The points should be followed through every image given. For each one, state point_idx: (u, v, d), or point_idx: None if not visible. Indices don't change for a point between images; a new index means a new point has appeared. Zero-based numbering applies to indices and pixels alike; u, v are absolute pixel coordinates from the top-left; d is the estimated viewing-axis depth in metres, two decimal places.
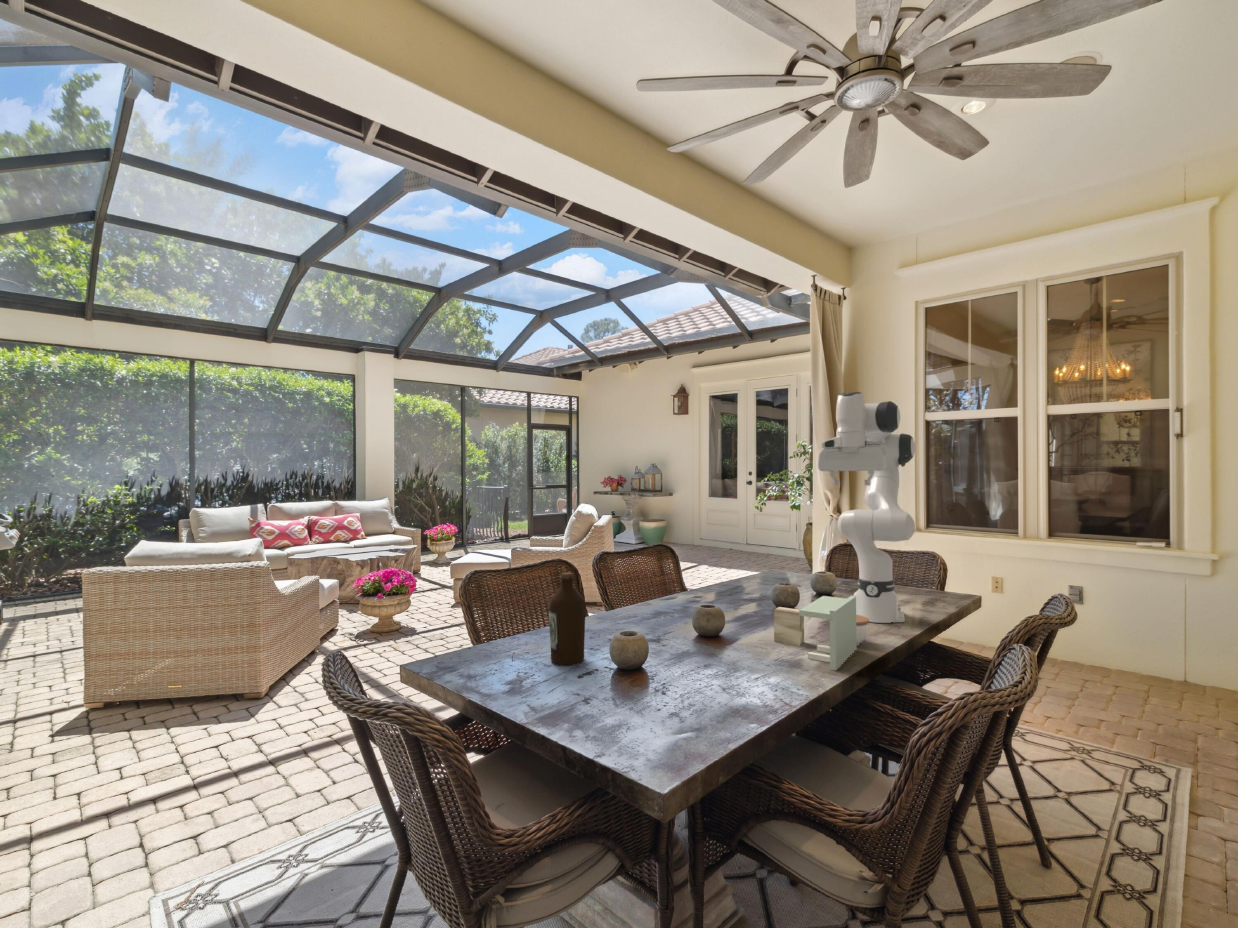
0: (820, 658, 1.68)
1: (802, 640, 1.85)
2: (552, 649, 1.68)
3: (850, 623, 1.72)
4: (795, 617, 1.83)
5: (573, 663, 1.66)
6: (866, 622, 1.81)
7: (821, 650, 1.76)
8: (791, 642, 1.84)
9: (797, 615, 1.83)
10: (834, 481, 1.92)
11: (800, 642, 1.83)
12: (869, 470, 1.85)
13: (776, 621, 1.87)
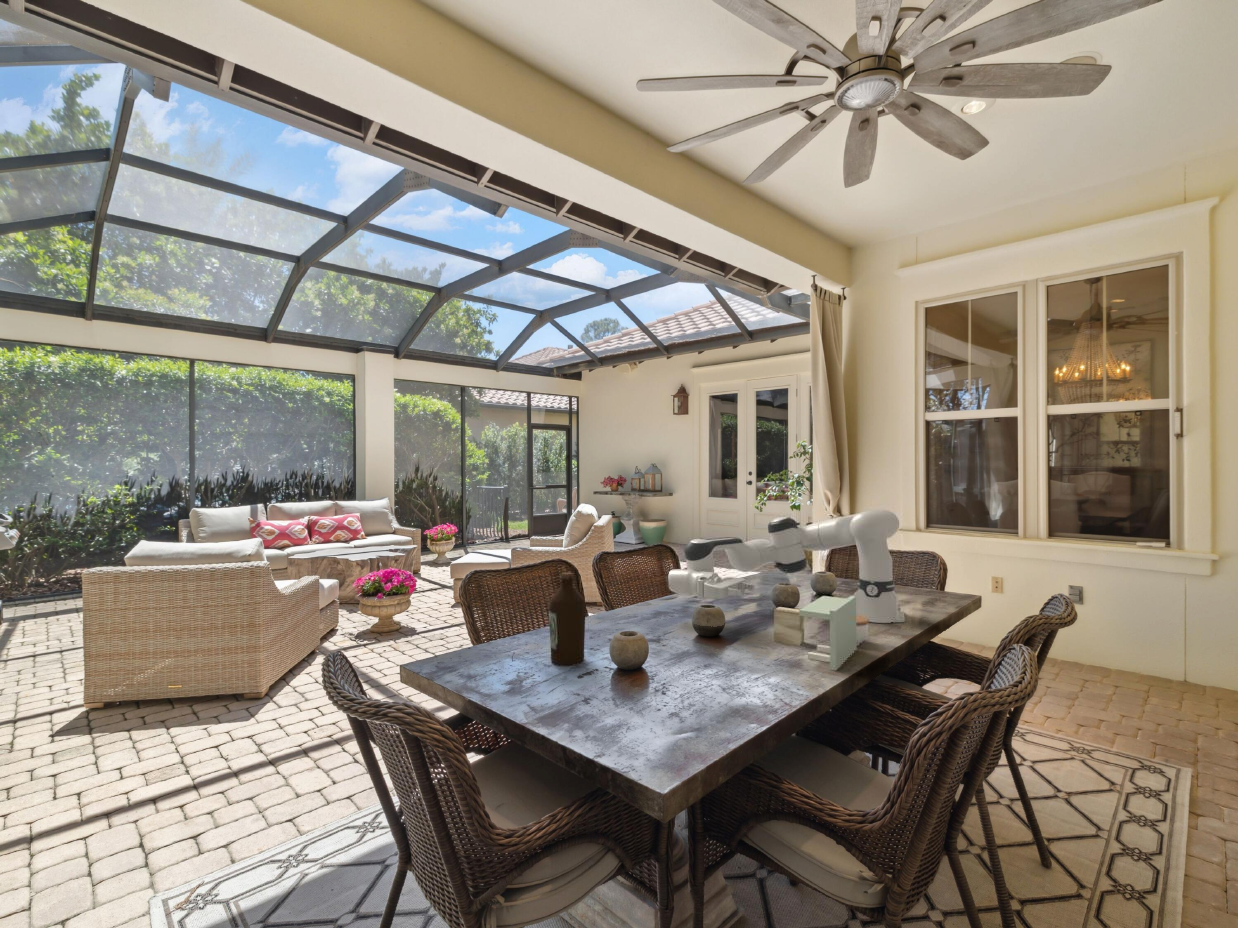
0: (820, 658, 1.68)
1: (802, 640, 1.85)
2: (552, 649, 1.68)
3: (850, 623, 1.72)
4: (795, 617, 1.83)
5: (573, 663, 1.66)
6: (866, 622, 1.81)
7: (821, 650, 1.76)
8: (791, 642, 1.84)
9: (797, 615, 1.83)
10: (737, 589, 1.92)
11: (800, 642, 1.83)
12: (741, 581, 2.02)
13: (776, 621, 1.87)
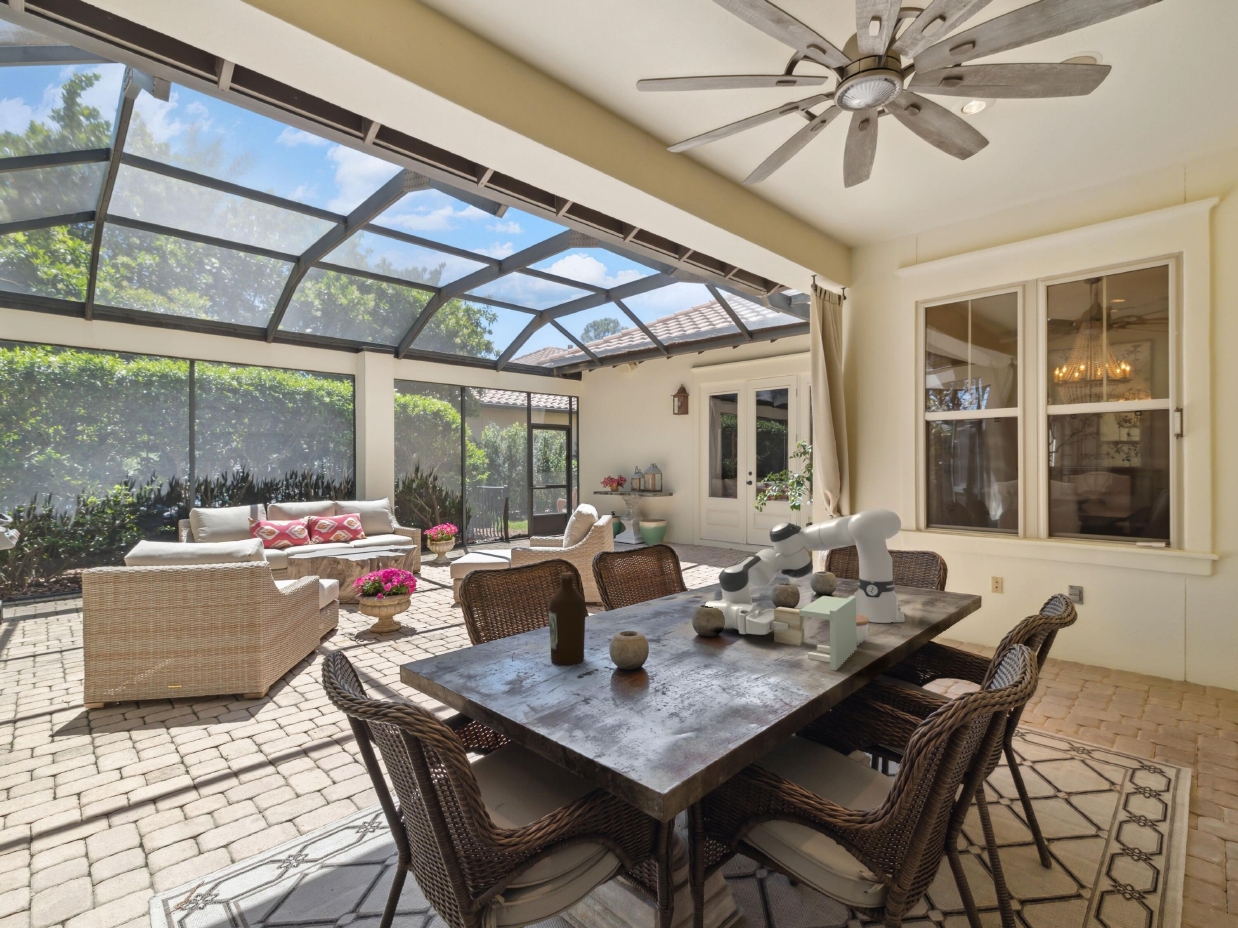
0: (820, 658, 1.68)
1: (802, 640, 1.85)
2: (552, 649, 1.68)
3: (850, 623, 1.72)
4: (795, 616, 1.83)
5: (573, 663, 1.66)
6: (866, 622, 1.81)
7: (821, 650, 1.76)
8: (791, 642, 1.84)
9: (797, 615, 1.83)
10: (783, 623, 1.84)
11: (800, 642, 1.83)
12: None
13: (776, 621, 1.87)
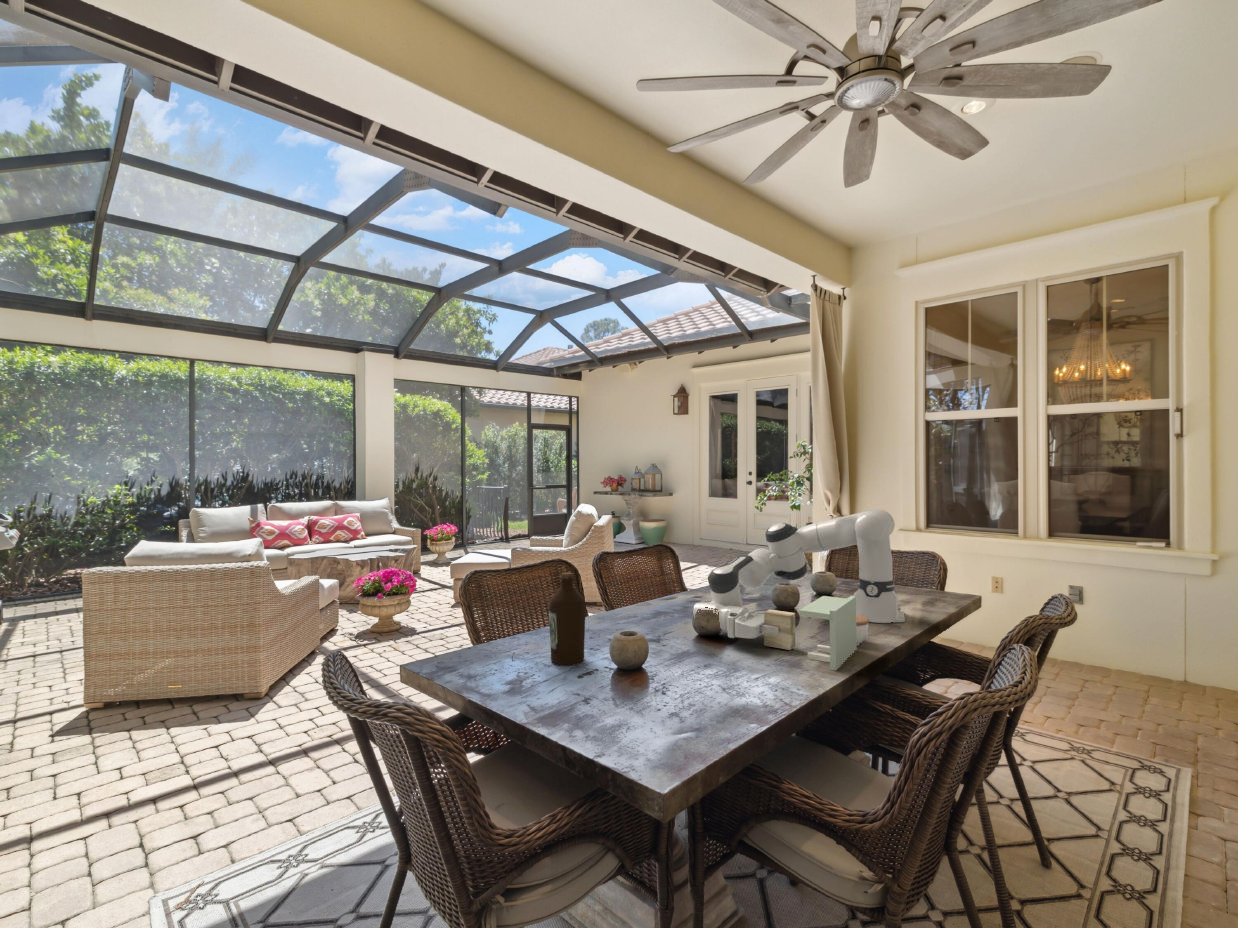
0: (820, 658, 1.68)
1: (793, 644, 1.78)
2: (552, 649, 1.68)
3: (850, 623, 1.72)
4: (786, 620, 1.77)
5: (573, 663, 1.66)
6: (866, 622, 1.81)
7: (821, 650, 1.76)
8: (781, 646, 1.77)
9: (788, 618, 1.76)
10: (774, 626, 1.78)
11: (791, 646, 1.77)
12: None
13: (766, 624, 1.80)
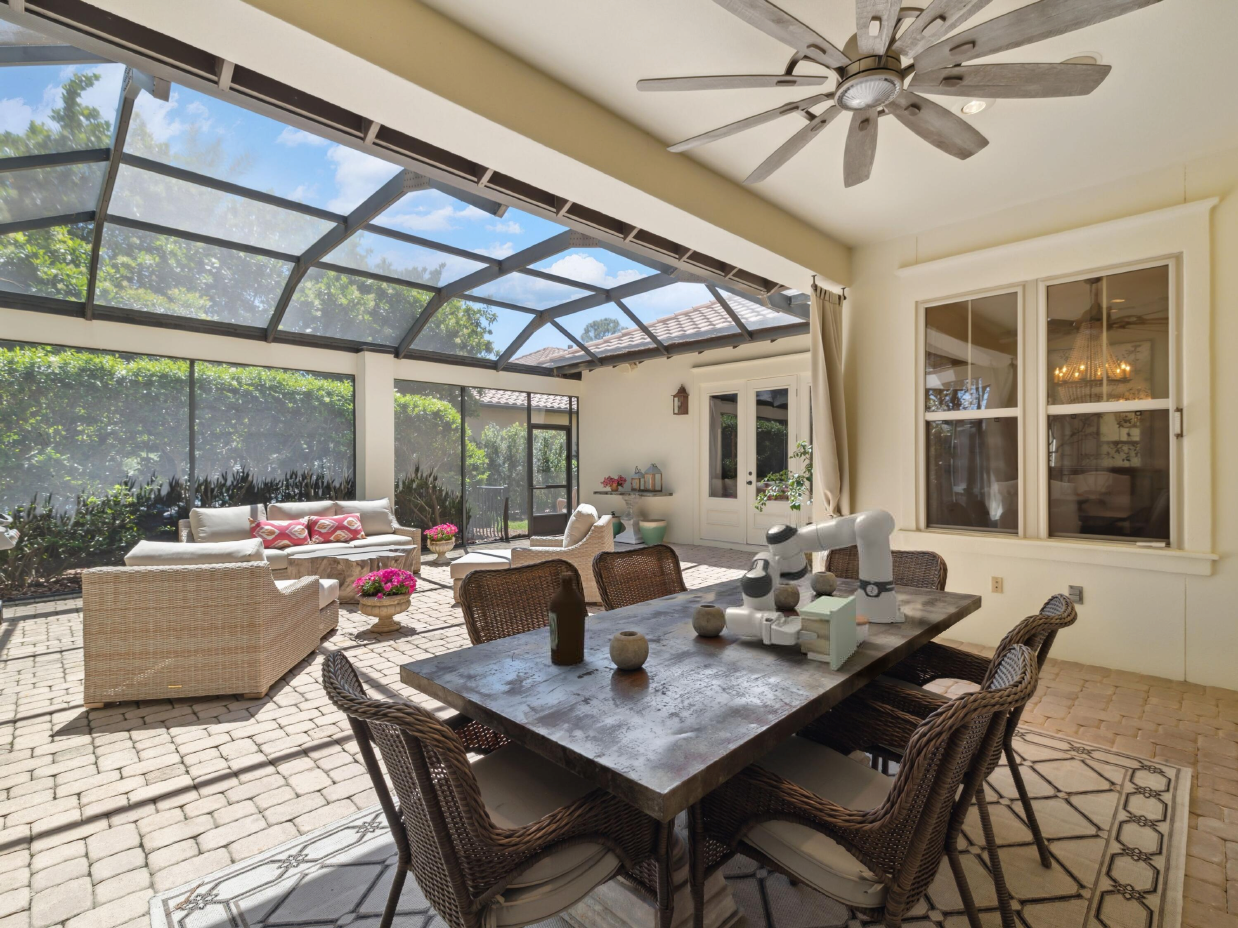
0: (820, 658, 1.68)
1: None
2: (552, 649, 1.68)
3: (850, 623, 1.72)
4: (825, 625, 1.70)
5: (573, 663, 1.66)
6: (866, 622, 1.81)
7: None
8: (820, 653, 1.71)
9: (827, 624, 1.70)
10: (812, 632, 1.71)
11: None
12: None
13: (804, 630, 1.73)
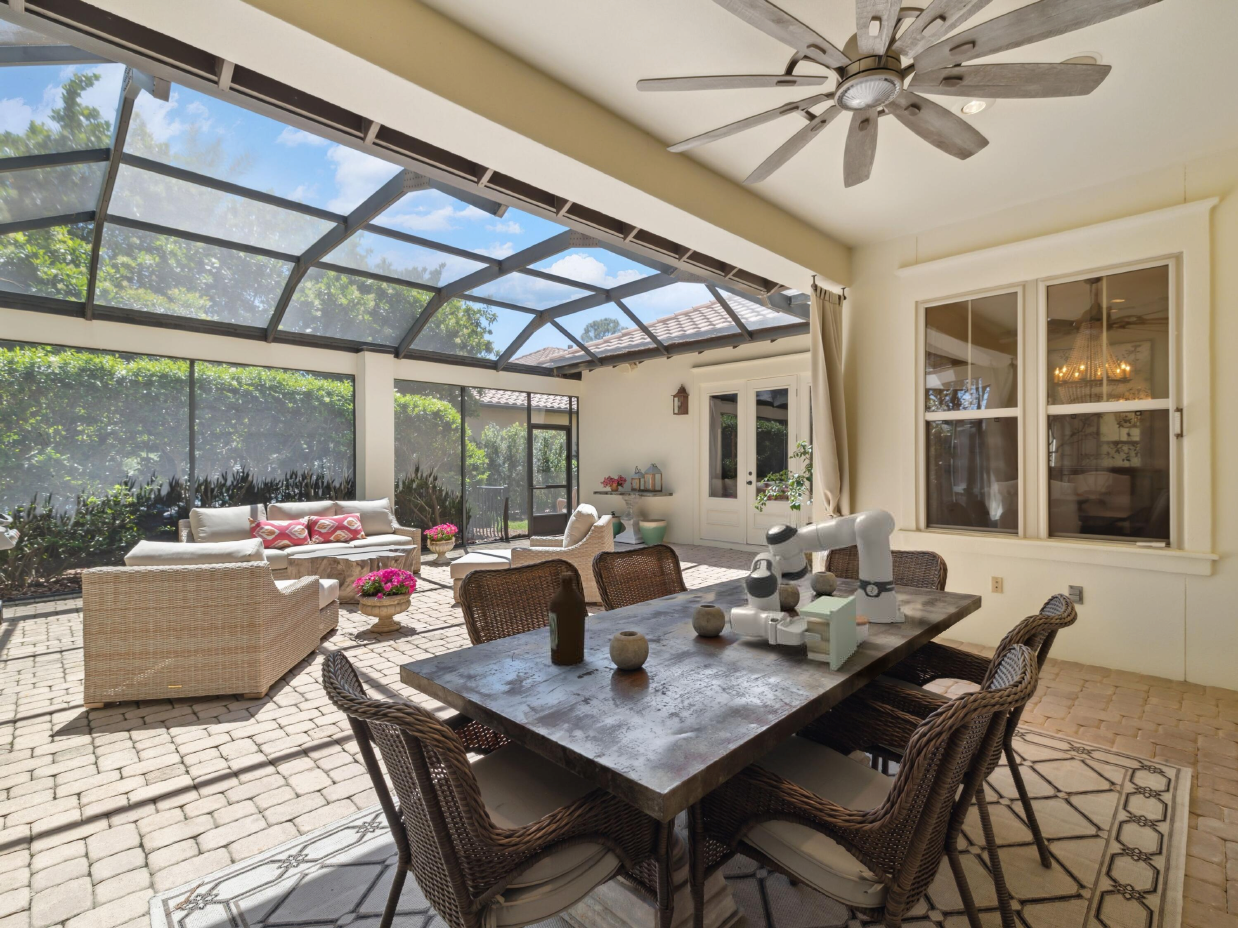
0: (820, 658, 1.68)
1: None
2: (552, 649, 1.68)
3: (850, 623, 1.72)
4: None
5: (573, 663, 1.66)
6: (866, 622, 1.81)
7: None
8: None
9: None
10: (816, 634, 1.69)
11: None
12: None
13: None
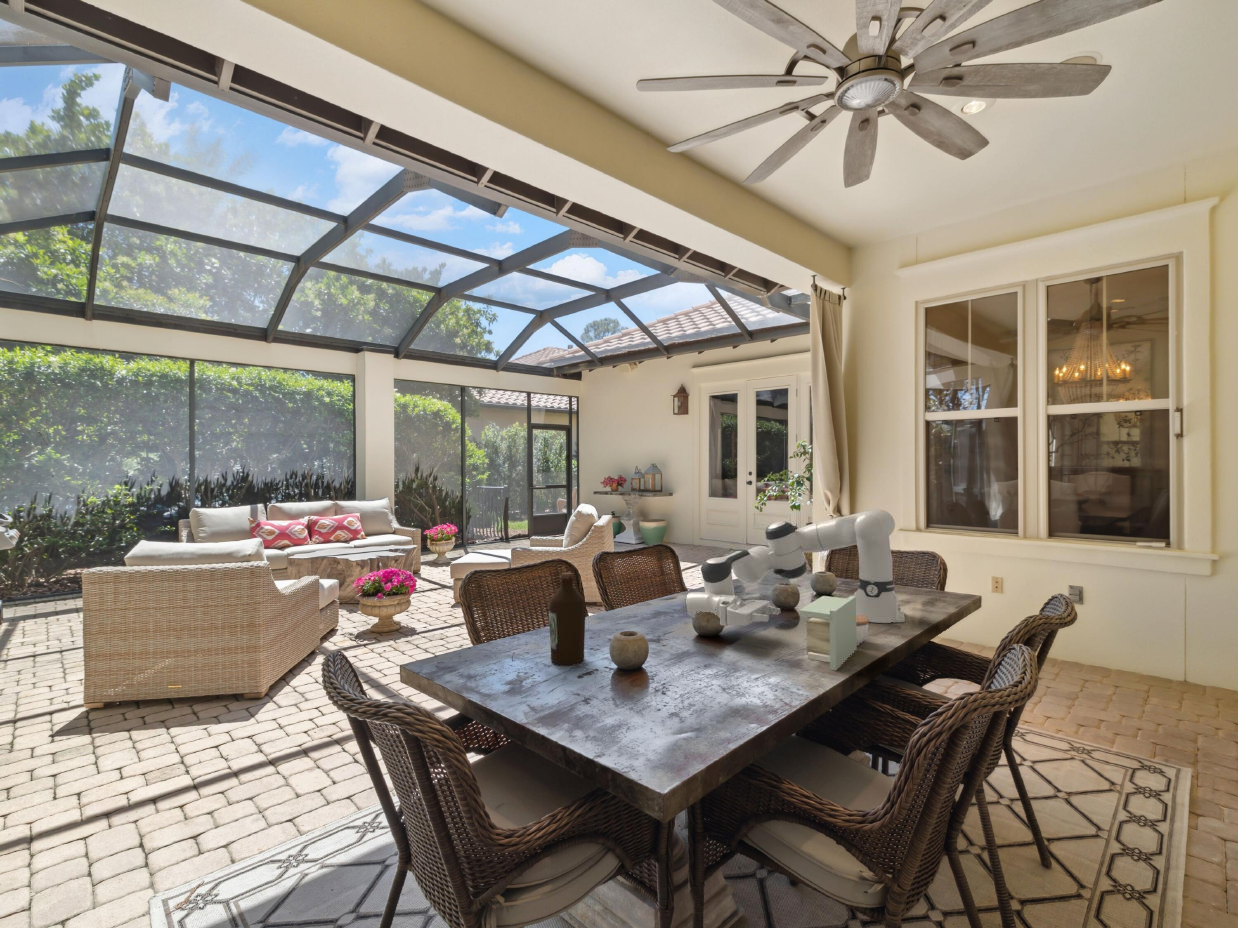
0: (820, 658, 1.68)
1: None
2: (552, 649, 1.68)
3: (850, 623, 1.72)
4: None
5: (573, 663, 1.66)
6: (866, 622, 1.81)
7: None
8: None
9: None
10: (763, 614, 1.78)
11: None
12: (766, 604, 1.89)
13: (809, 634, 1.73)
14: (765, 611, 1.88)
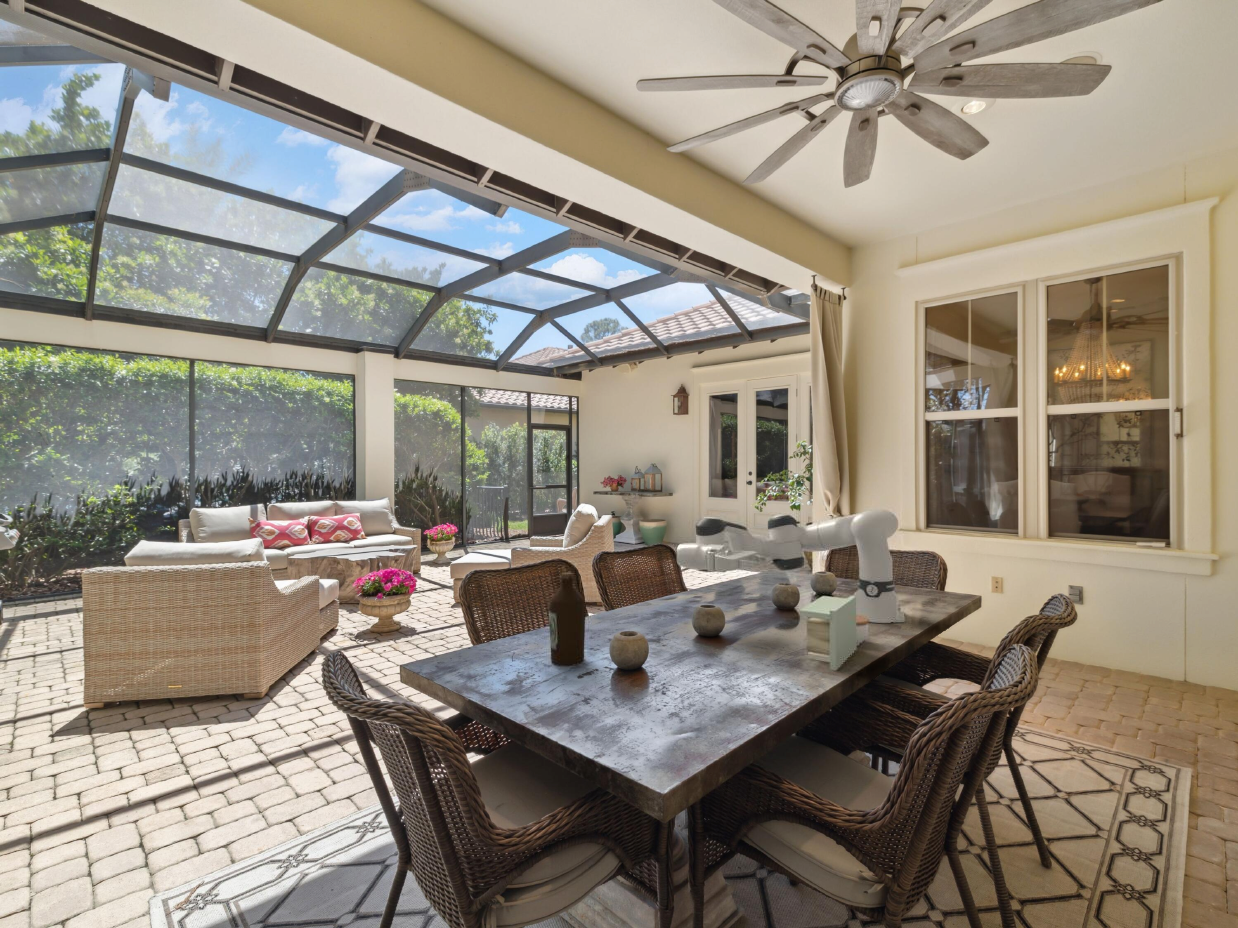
0: (820, 658, 1.68)
1: None
2: (552, 649, 1.68)
3: (850, 623, 1.72)
4: None
5: (573, 663, 1.66)
6: (866, 622, 1.81)
7: None
8: None
9: None
10: (750, 561, 1.83)
11: None
12: (753, 554, 1.94)
13: (809, 634, 1.73)
14: (752, 560, 1.94)
